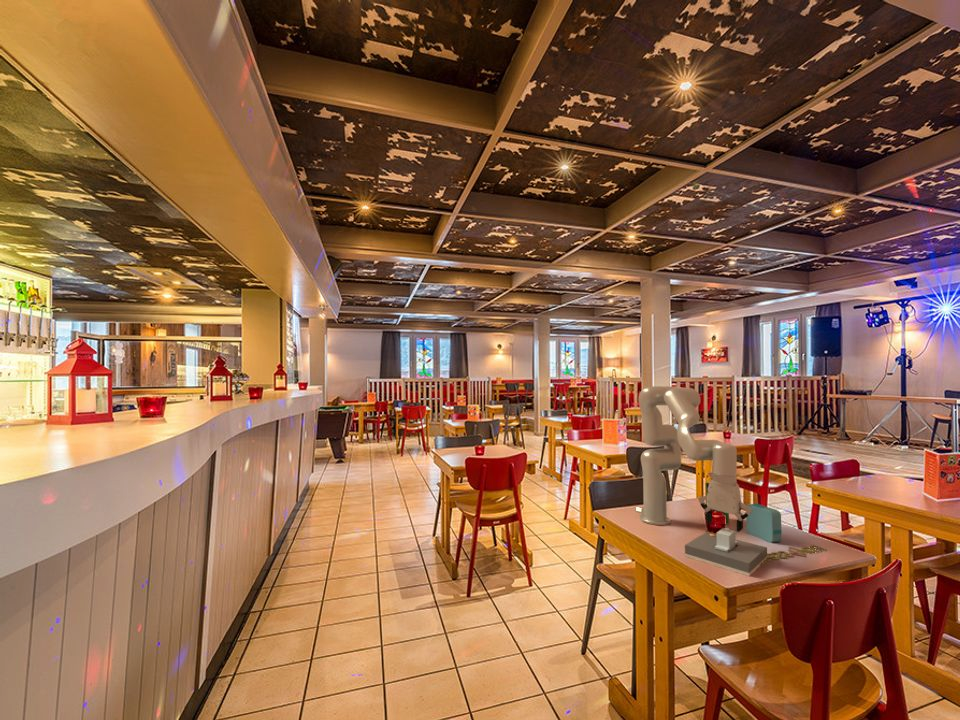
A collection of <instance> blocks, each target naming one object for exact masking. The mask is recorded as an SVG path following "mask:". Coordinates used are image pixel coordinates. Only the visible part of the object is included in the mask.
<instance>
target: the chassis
mask: <svg viewBox="0 0 960 720" xmlns="http://www.w3.org/2000/svg"><path fill="white" fill-rule="evenodd" d="M735 541H737V544H736V545H735V546H736V548H735V549H733V550H732V551H731V552H729V551H728V552H726V551H722V550H718V549H715V548H714V547H715V546H716V545H717V533H713V532H709V531H705V532H704V533H703V534H700V535H699V536H697V537H696V538H693V540H691V541H689V542H687V543H686V544H685V545H684V554H685V555H684V557H687V558H689V559H692V560H696V561H699V562H702V563H705V564H708V565H712V566H715V567H719V568H721V569H724V570H728V571H732V572H734V573H737V574H741V575H744V576H747V577H750V576H751V575H752V574H753V573H754V572H755V571H756V570H758V569H759V567H761V566H760V564H761V563H764V560H766V558H767V553H768V546H764V545H761V544H760V545H759V544H755V543H751V542H749V541H748V542H747V541H743V540H739V539H736V538H735ZM764 564H765V563H764Z"/></svg>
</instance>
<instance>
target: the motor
mask: <svg viewBox="0 0 960 720" xmlns="http://www.w3.org/2000/svg"><path fill="white" fill-rule="evenodd" d="M708 486H709V482H705V496H706V495H707V493H708ZM705 504H706V505H707V499H706V500H705ZM711 511H717V510H713V509H711ZM717 512H721V511H717ZM721 513H724V514H725V515H726V524H725V525H727V524H730V514H729V513H725V512H721Z"/></svg>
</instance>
